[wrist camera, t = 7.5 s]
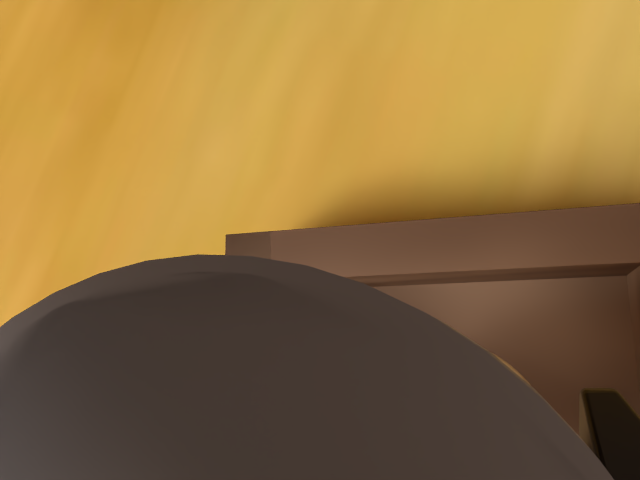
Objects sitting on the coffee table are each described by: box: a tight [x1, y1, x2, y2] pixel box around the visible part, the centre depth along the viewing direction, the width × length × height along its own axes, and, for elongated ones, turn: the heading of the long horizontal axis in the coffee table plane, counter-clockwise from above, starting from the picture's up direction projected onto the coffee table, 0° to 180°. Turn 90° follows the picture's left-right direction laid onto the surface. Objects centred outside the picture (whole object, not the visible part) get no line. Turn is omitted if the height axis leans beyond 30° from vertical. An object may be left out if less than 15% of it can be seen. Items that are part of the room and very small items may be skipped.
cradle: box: [225, 203, 640, 435], centre depth 17 cm, size 10×13×3 cm
